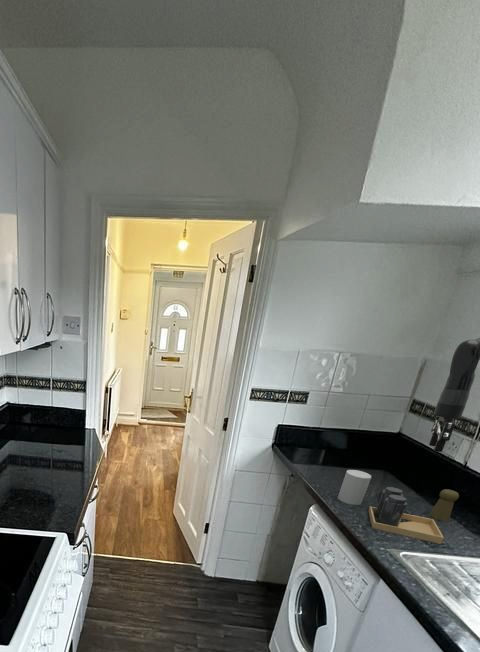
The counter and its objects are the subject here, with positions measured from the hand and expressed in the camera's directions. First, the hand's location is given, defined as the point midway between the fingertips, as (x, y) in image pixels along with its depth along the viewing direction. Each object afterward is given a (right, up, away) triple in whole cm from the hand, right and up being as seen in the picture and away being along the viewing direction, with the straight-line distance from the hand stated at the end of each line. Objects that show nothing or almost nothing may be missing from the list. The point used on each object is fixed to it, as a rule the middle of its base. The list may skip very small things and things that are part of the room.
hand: (435, 448), depth 146 cm
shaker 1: (-18, -25, +1) cm, 30 cm away
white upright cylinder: (-22, -20, +13) cm, 33 cm away
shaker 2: (-21, -27, -6) cm, 35 cm away
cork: (+5, -25, +4) cm, 26 cm away
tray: (-15, -28, -4) cm, 32 cm away
